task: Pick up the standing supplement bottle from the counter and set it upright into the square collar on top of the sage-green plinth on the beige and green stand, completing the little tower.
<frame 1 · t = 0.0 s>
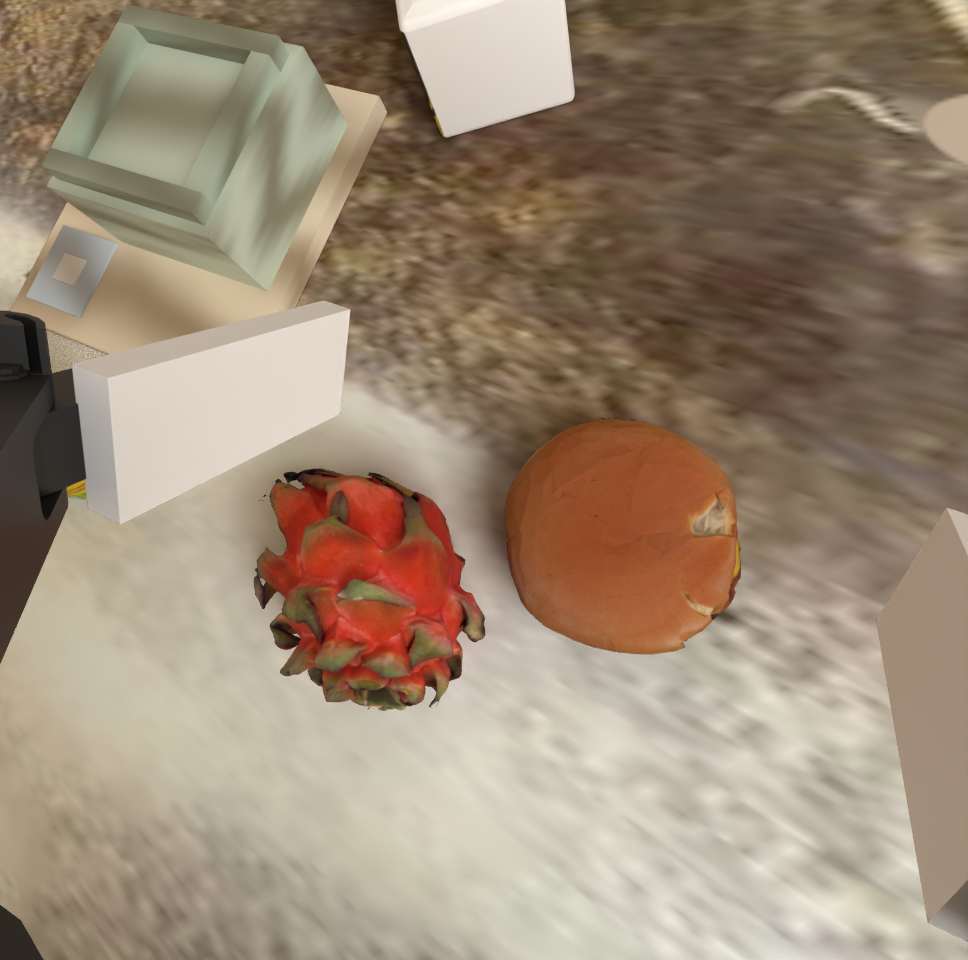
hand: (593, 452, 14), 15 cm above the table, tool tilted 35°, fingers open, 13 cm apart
beige and green stand: (201, 220, 37), on the table
dragon fruit: (391, 583, 31), on the table
medicine bottle: (498, 70, 36), on the table
burger: (621, 537, 29), on the table
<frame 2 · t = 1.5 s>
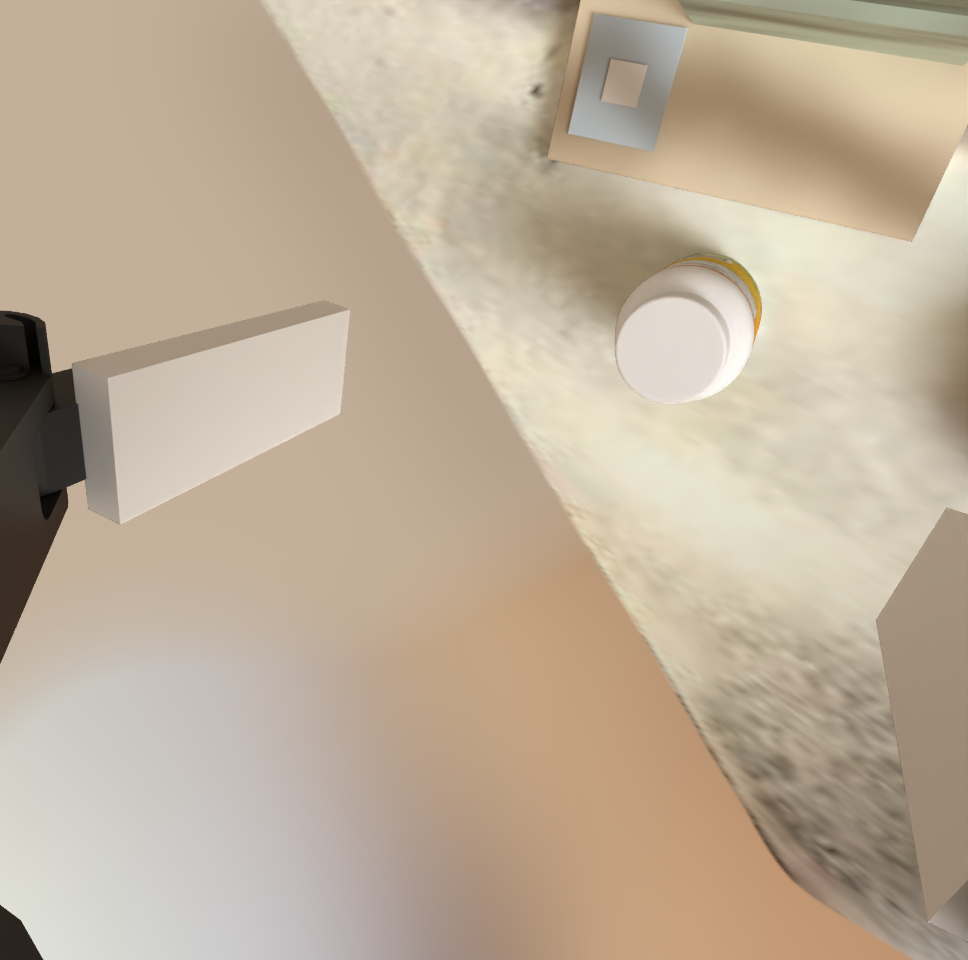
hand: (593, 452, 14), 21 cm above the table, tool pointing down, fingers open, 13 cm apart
supplement bottle: (703, 310, 32), on the table
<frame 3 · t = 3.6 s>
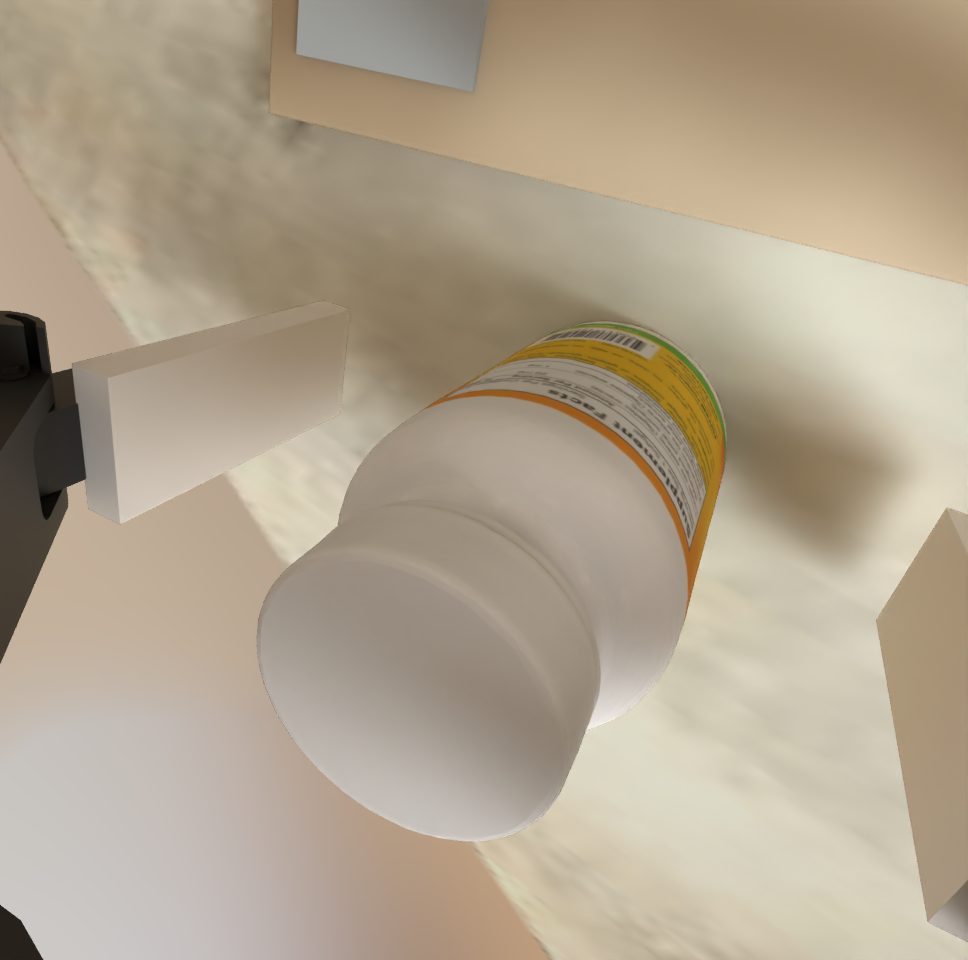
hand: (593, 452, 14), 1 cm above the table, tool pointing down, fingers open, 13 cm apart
supplement bottle: (609, 431, 16), on the table
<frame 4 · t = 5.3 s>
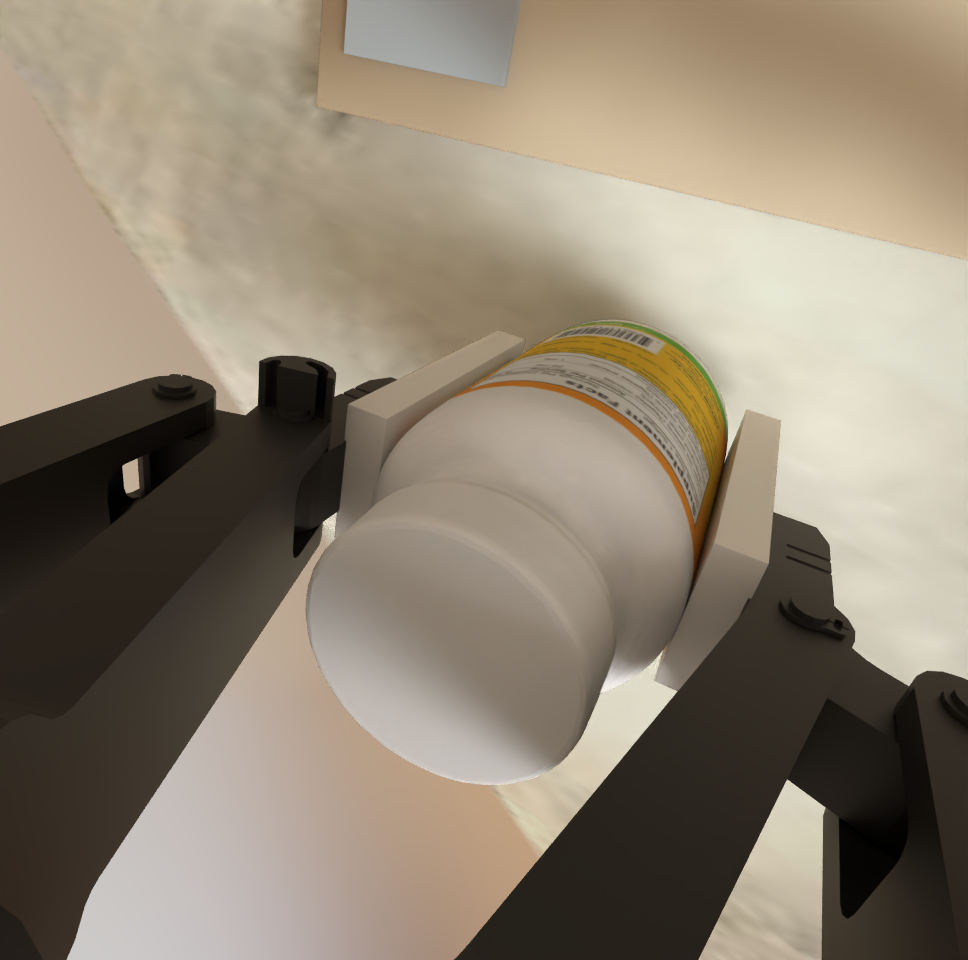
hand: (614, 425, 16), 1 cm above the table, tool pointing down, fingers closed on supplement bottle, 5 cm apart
supplement bottle: (617, 423, 17), point 1 cm above the table, touching gripper
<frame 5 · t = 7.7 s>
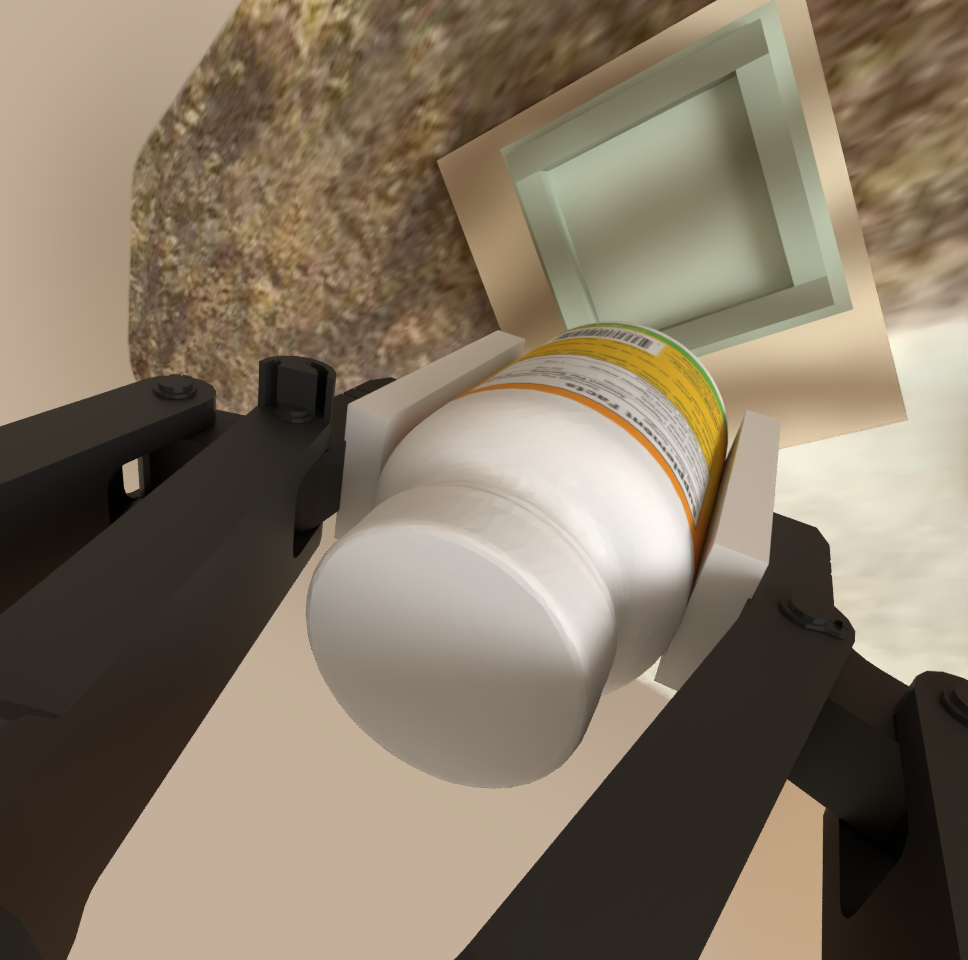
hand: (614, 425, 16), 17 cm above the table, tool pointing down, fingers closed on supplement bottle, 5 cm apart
beige and green stand: (661, 278, 31), on the table
supplement bottle: (617, 425, 17), point 17 cm above the table, touching gripper
when the fingers open (8 cm above the table, at t = 10.3 s): supplement bottle drops 2 cm, resting on beige and green stand.
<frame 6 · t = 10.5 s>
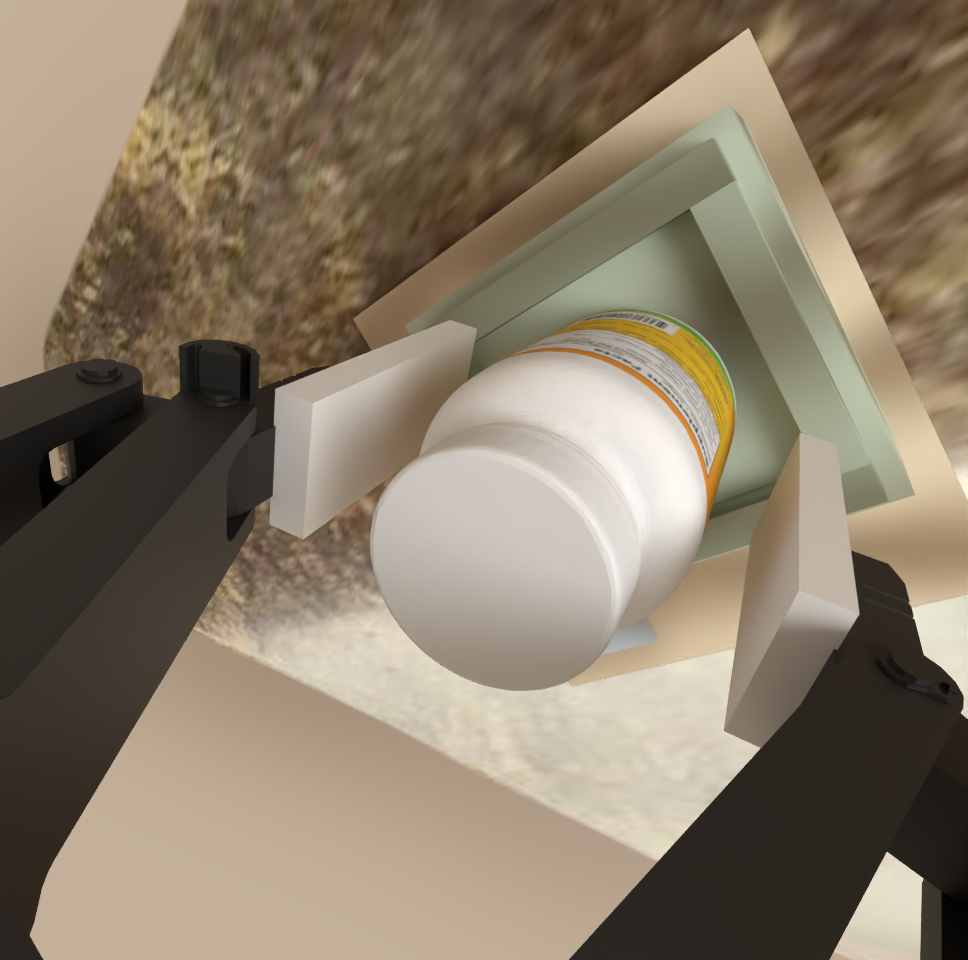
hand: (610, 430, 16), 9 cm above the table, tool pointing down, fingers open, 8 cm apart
beige and green stand: (645, 424, 24), on the table
supplement bottle: (633, 406, 18), point 6 cm above the table, touching beige and green stand
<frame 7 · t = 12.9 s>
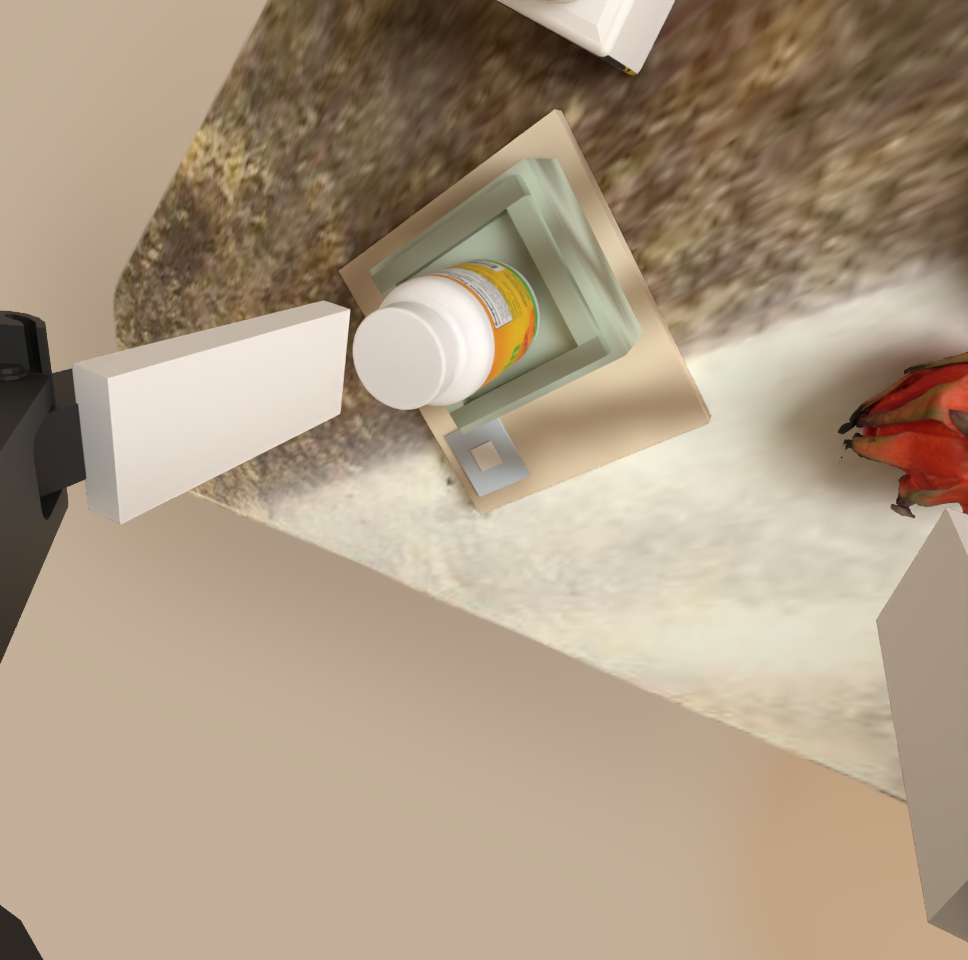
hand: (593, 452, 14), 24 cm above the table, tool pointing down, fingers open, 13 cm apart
beige and green stand: (518, 337, 40), on the table
supplement bottle: (492, 313, 33), point 6 cm above the table, touching beige and green stand
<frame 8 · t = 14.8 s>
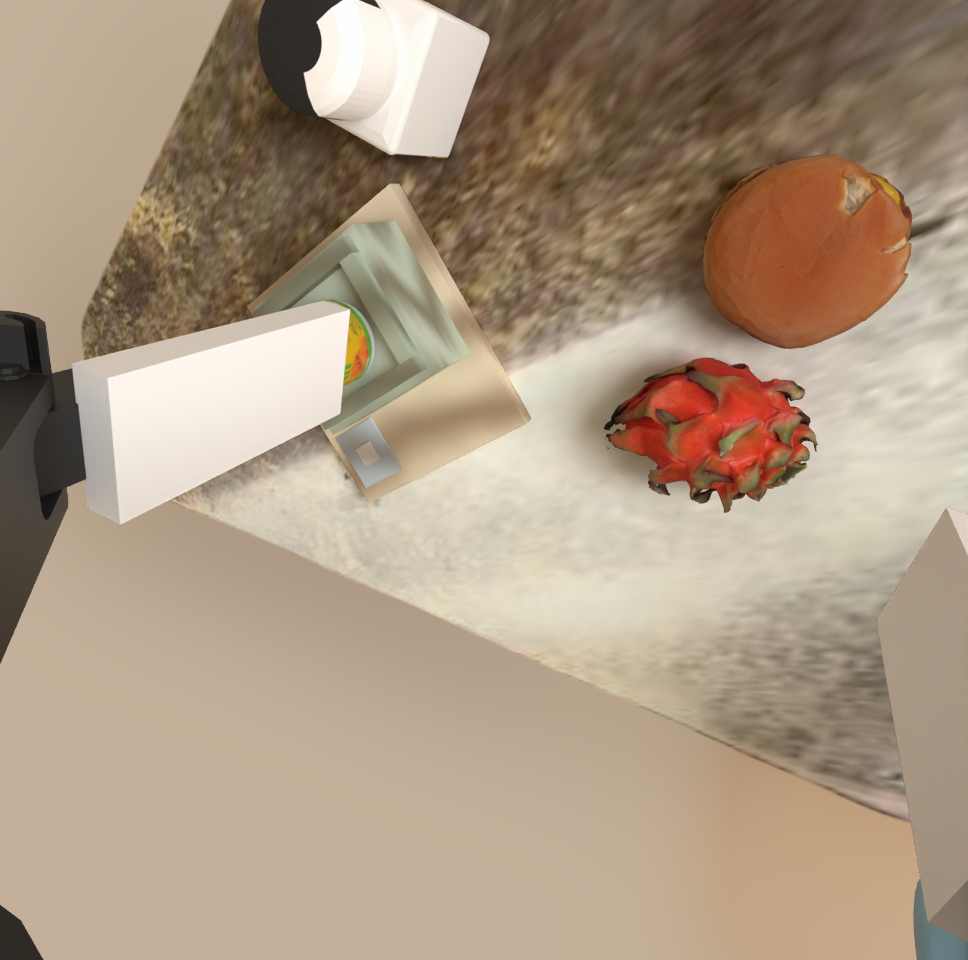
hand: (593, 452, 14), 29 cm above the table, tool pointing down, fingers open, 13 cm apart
beige and green stand: (386, 357, 50), on the table
dragon fruit: (712, 414, 42), on the table
medicine bottle: (424, 76, 41), on the table
supplement bottle: (343, 340, 43), point 6 cm above the table, touching beige and green stand
burger: (799, 247, 37), on the table
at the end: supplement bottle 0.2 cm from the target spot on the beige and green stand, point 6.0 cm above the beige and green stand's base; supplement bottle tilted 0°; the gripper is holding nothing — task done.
